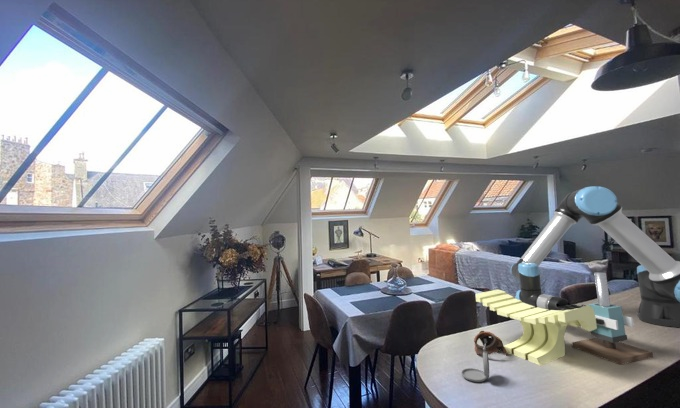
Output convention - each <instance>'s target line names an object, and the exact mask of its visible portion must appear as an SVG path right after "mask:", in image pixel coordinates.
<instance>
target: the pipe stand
mask: <svg viewBox="0 0 680 408" xmlns="http://www.w3.org/2000/svg"><path fill="white" fill-rule="evenodd" d="M593 275H594V283H595V288H596V296H597V297H596V298H597V303H598V306H602V307H611V306H610V304H611V300H610V292H609V285H608V279H607V273H606V272H598V271H597V272H593ZM571 345H572V348H575V349H577V350H580V351H583V352H586V353H588V354H591V355H593V356H597V357H599V358H602V359H604V360H607V361H610V362H613V363H615V364H618V365H624V364H629V363H633V362H637V361H642V360H645V359H650V358H653V357H654V354H653V351H651V350H647V349H644V348H640V347H637V346H634V345H630V344H628V343H624V342H623V341H619V342H614V343H612V342H609V341H606V340H602V339H599V338H596V337H593V338H592V337H591V338H587V339H582V340H578V341H572V342H571Z"/></svg>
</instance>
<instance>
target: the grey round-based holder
mask: <svg viewBox="0 0 680 408" xmlns="http://www.w3.org/2000/svg"><path fill="white" fill-rule="evenodd" d="M482 346H483V345H482ZM485 346H486V343H485V345H484V346H483V350H484V352H483V354H482V365H483V366H482V367H483V368H482V369H483V371H482V370H481V369H478V368H471V367H470V368H464V369H462V370H461V376H462V377H463V378H464V379H466V380H467V381H470V382H475V383H482V382H484V381H487V379H488V378H490V362H489V354H488V353H487V352H486V351H485V350H486V348H485Z"/></svg>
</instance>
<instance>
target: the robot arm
mask: <svg viewBox="0 0 680 408" xmlns="http://www.w3.org/2000/svg"><path fill="white" fill-rule="evenodd" d="M622 211H623V206H622V205H620V204H619V203H618V197H617V196H616V194H615V193H614V192H613V191H612V190H610V189H609V188H606V187H605V186H599V185H598V186H594V185H593V186H592V185H591V186H586V187H583V188H580V189H576V190H572V191H570V192H569V193H567V194H566V196H565V197H564V198H563V199H562V200H561V201H560V203H559V204H558V206H557V207H556V208H555V210H554V211H553V216H552V217H551V219H550V220H549V221H548V223H547V224H546V225H545V226H544V227H543V229H542V230H541V231H540V233H539V234H538V236H536V238H535V239H534V240H533V242H532V243H531V245H529V247H528V248H527V250H526V251H525V252H524V254H523V255H522V256H521V257H520V258H519V260H518V261H517V262H516V263H513V264H512V265H511V266H510V273H511V275H512V276H513V277H514V279H516V280H518V281H519V287H520V289H519V290H517V291H516V292H515V297H514V298H515V299H518V300H520V301H522V303H526V304H529V305H532V306H535V308H537V307H538V308H542V309H548V310H549V311H550V310H562V311H564V310H571V309H572V310H573V309H576V308H581V307H584V306H587V305H586V304H581V305H577V304H574V303H570V301H569V300H567V299H566V298H563V297H561V296H560V297H559V296H555V295H550V294H545V293H542V291H543V290H542V284H541V283H542V282H541V272H540V269H539V266H540V265H541V264H542V262H543V261H544V260H545V259H546V257H547V256H548V255H549V254H550V252H551V251H552V250H553V249H554V247H556V245H557V243H558V242H559V241H560V240H561V239H562V238H563V237H564V235H565V234H566V232H568V230H569V229H570V228H571V227H572V225H576V224H577V223H578V222H579V221H580V220H581V219H582V218H584V219H585V220H586V221H587V222H588V223H589V224H590V225H591V226H599V227H600V228H601V229H602V230H603V231H604V232H605V233H606V234H607V235H608V236H609V237H611V238H612V239H613V240H614V241H615V242H616V243H617V244H618V245H619V246H620V247H621V248H622V249H623V250H624V251H626V252H627V253H628V254H629V255H630V256H631V257H632V258H633V259H634V260H635V261H636V262H637V263H639V265H638V266H637V267H636V275H637V282H638V288H639V294H640V304H639V306H638V310H637V318H639V319H638V320H640V321H643V322H644V321H645V323H648V324H652V325H657V326H661V327H664V326H665V327H670V326H671V328H672V327H673V328H680V261H679V260H676V259H674V258H673V257H672V256H670V255H669V254H668V253H667V252H666V251H665V250H664V249H663V248H661V246H659V244H658V243H656V242H655V241H654V240H653V239H652V238H650V237H649V236H648V235H647V234H646V233H645V232H644V231H643V230H642V229H641V228H640V227H638V226H637V225H636V224H635V223H634V222H632V221H631V219H629V218H628V217H627V216H626V215H625V214H624V213H623V212H622ZM595 318H596V324H597V325H601V326H604V327H608V328H612V329H615V330H619V329H618V321H617V320H613V319H609V318H605V317H601V316H596V315H595ZM623 320H624V326H626V327H627V326H628V327H631V328H633V327H635V325H634V318H633V317H632V316H626V315H623Z"/></svg>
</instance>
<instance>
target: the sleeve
mask: <svg viewBox="0 0 680 408" xmlns="http://www.w3.org/2000/svg"><path fill="white" fill-rule="evenodd" d="M587 305H589V306H591V307H592V308H593V310H594V313H595V315H596V316H601V317H605V318H609V319H613V320H617V321H618V329H619V330H615V329H612V328H608V327H604V326H601V325H597V324H596V325H597V329H595V330H592V332H595V333H598V334H602V335H605V336H608V337H612V338H613V337H618V336H623V335H627V334H626V328H625V325H624V320H623V316H624V314H623V308H622V305H616V304H612V303H610V306H611V307H602V306H598V302H594V303H588V304H587Z"/></svg>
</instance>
